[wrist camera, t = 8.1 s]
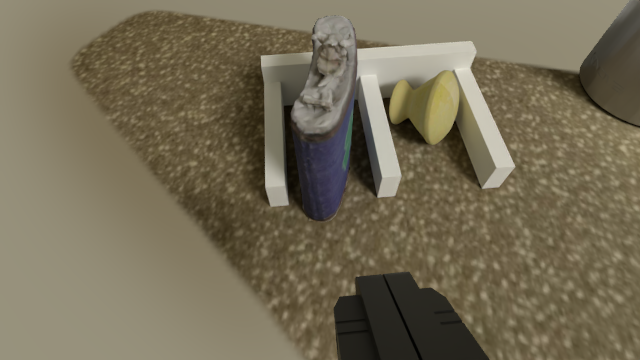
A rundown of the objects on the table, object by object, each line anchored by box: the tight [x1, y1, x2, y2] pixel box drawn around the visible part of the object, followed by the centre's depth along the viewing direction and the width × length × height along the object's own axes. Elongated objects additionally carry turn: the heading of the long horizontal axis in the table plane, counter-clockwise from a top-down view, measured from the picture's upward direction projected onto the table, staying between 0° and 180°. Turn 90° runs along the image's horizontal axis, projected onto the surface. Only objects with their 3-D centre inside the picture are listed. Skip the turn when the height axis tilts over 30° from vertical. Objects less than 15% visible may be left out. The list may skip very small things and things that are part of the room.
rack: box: [261, 41, 515, 207], centre depth 25 cm, size 16×10×4 cm, turn 95°
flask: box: [290, 15, 358, 223], centre depth 21 cm, size 9×3×11 cm, turn 172°
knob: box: [389, 70, 459, 145], centre depth 25 cm, size 5×5×5 cm
